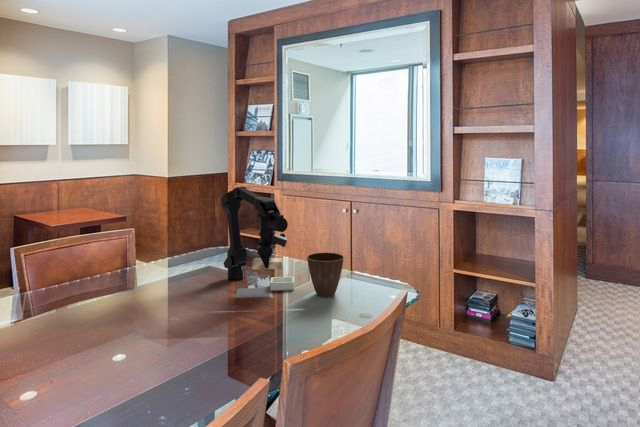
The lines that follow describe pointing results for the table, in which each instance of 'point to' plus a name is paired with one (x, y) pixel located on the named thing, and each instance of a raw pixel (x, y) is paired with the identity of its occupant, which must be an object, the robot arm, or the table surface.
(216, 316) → the table surface
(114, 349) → the table surface
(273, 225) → the robot arm
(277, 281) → the dish
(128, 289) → the table surface
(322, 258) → the plant pot
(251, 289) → the mat
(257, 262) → the lid
